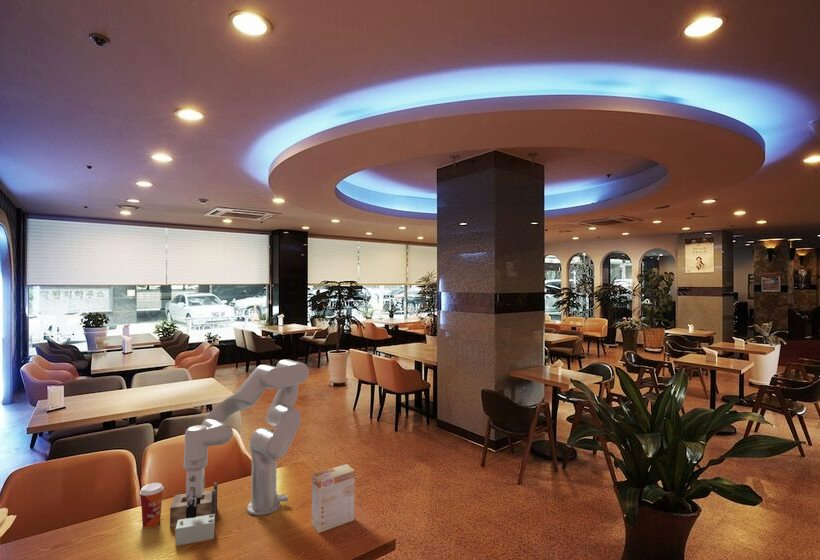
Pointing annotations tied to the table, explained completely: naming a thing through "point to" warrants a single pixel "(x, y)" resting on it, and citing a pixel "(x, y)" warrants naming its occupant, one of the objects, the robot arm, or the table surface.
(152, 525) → the paper cup
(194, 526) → the white block with knobs
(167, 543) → the table surface
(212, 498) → the brown boxy piece
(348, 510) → the coffeecake box
